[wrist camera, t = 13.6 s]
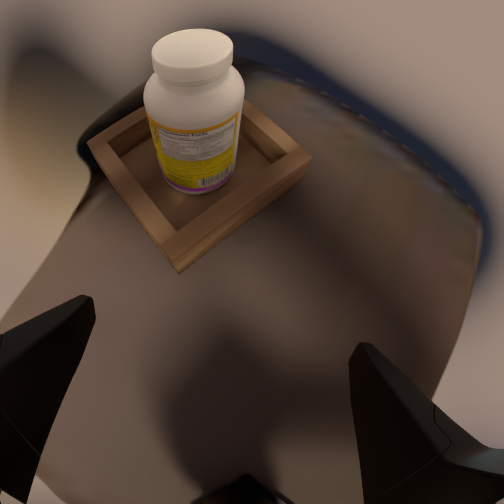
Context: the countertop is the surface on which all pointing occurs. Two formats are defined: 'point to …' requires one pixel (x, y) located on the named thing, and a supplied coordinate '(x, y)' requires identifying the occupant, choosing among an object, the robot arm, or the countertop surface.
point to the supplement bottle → (195, 109)
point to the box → (198, 205)
